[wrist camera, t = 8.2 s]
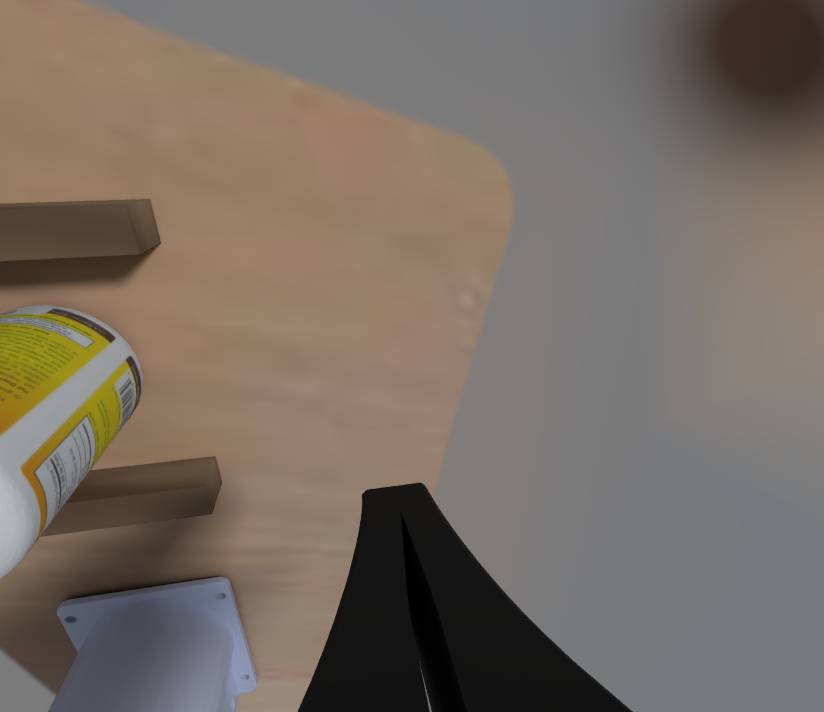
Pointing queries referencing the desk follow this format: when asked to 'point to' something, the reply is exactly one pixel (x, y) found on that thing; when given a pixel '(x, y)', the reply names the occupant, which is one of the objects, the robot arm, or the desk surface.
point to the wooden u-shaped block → (125, 486)
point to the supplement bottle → (55, 413)
